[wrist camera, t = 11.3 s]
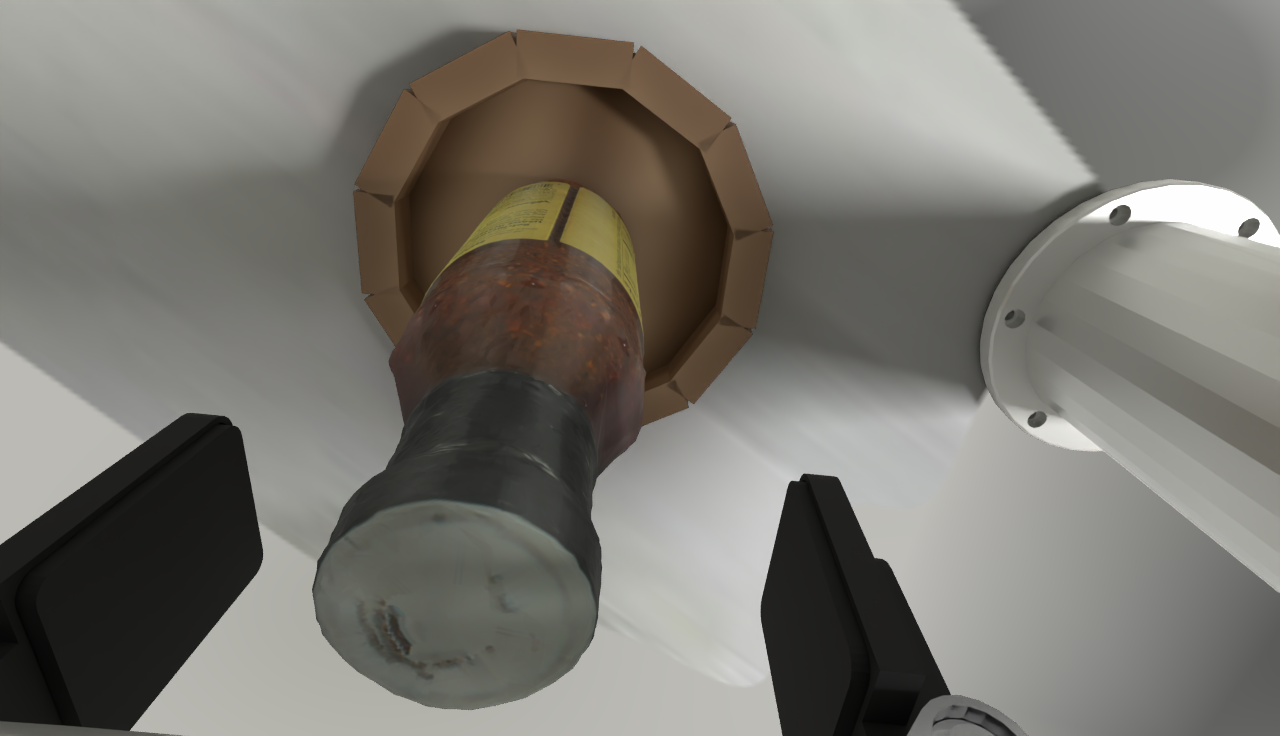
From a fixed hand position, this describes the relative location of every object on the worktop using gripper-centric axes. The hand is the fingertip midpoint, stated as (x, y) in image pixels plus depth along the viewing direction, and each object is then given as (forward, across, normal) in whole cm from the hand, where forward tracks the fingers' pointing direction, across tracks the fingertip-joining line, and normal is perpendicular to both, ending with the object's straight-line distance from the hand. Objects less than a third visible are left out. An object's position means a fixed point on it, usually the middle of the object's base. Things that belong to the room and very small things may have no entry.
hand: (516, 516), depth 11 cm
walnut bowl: (+18, +1, 0) cm, 18 cm away
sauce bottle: (+18, +2, 0) cm, 18 cm away
